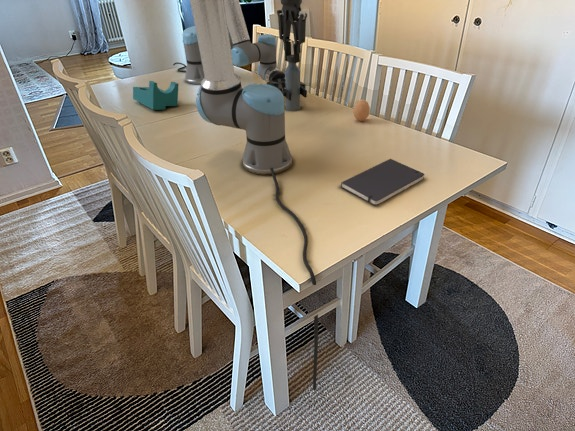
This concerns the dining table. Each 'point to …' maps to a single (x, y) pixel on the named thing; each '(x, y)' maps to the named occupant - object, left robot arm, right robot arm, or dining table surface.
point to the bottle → (293, 86)
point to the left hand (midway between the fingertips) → (298, 95)
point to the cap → (290, 58)
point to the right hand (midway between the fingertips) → (292, 61)
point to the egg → (361, 110)
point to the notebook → (382, 181)
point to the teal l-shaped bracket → (156, 96)
